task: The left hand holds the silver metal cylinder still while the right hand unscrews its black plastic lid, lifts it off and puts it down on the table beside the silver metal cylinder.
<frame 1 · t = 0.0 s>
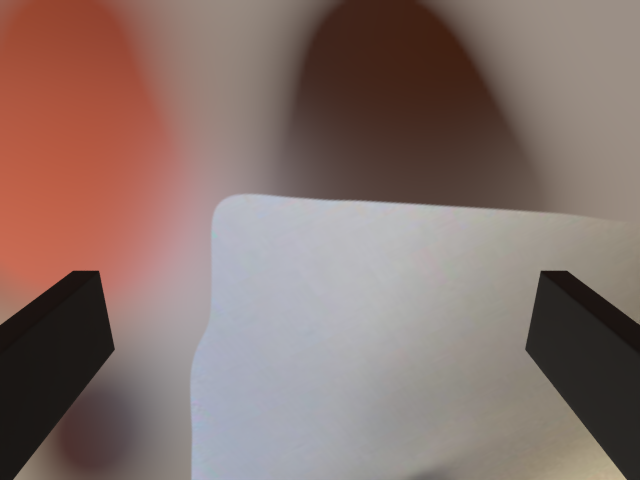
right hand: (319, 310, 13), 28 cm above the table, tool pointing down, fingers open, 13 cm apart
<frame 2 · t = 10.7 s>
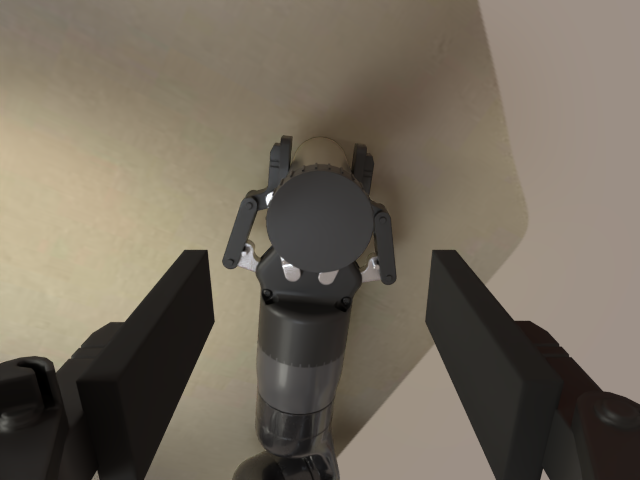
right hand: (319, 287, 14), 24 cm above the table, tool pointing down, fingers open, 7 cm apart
left hand: (323, 142, 30), fingers closed on silver metal cylinder, 4 cm apart
lid: (320, 222, 21), point 17 cm above the table, screwed on, not yet turned
silver metal cylinder: (319, 164, 36), on the table, touching left hand
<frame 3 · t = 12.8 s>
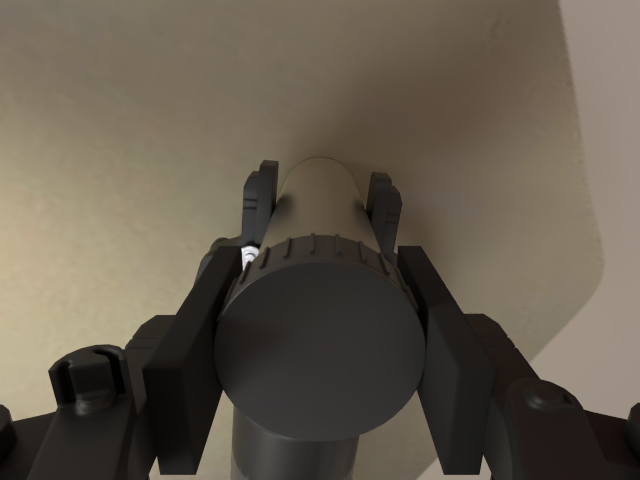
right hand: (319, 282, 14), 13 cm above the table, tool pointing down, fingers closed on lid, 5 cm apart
lid: (319, 351, 11), point 17 cm above the table, screwed on, not yet turned, touching right hand
silver metal cylinder: (319, 194, 26), on the table, touching left hand
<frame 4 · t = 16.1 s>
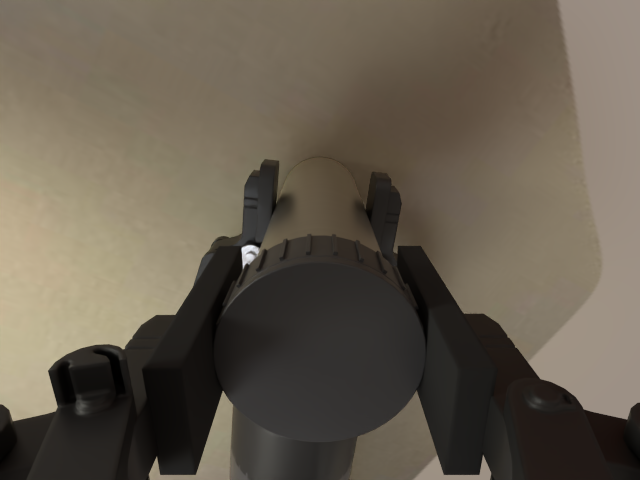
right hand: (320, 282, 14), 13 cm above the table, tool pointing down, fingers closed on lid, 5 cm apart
lid: (319, 351, 11), point 17 cm above the table, turned 99° so far, risen 0.2 cm, still on its thread, touching right hand
silver metal cylinder: (319, 194, 26), on the table, touching left hand
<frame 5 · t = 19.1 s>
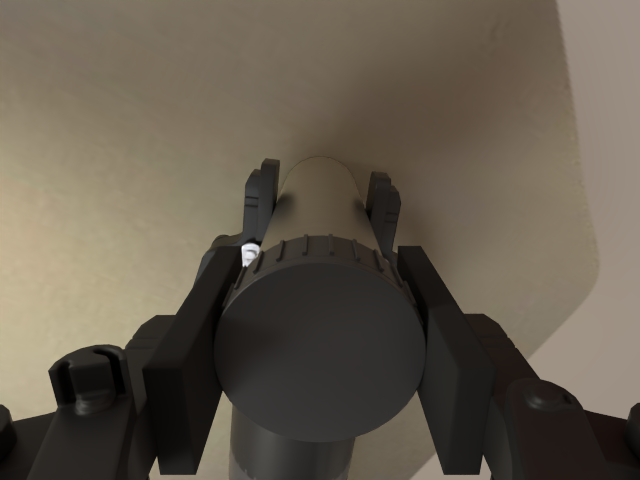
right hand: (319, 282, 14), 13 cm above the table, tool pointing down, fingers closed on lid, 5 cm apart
lid: (319, 351, 11), point 17 cm above the table, turned 198° so far, risen 0.3 cm, still on its thread, touching right hand
silver metal cylinder: (319, 193, 27), on the table, touching left hand
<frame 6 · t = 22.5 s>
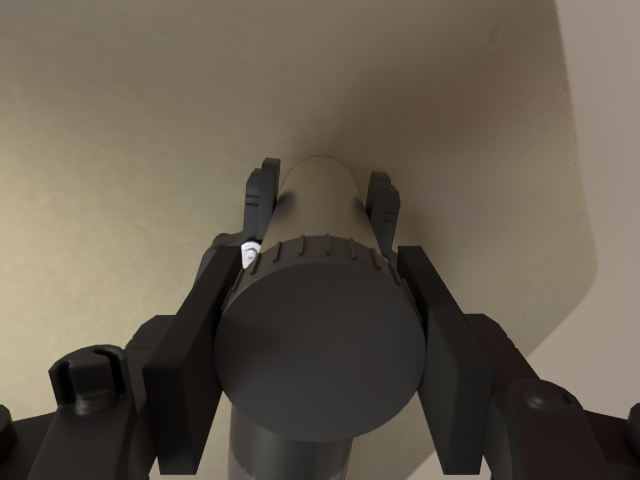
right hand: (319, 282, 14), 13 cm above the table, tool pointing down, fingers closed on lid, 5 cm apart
lid: (319, 351, 11), point 17 cm above the table, turned 298° so far, risen 0.5 cm, still on its thread, touching right hand
silver metal cylinder: (319, 192, 27), on the table, touching left hand
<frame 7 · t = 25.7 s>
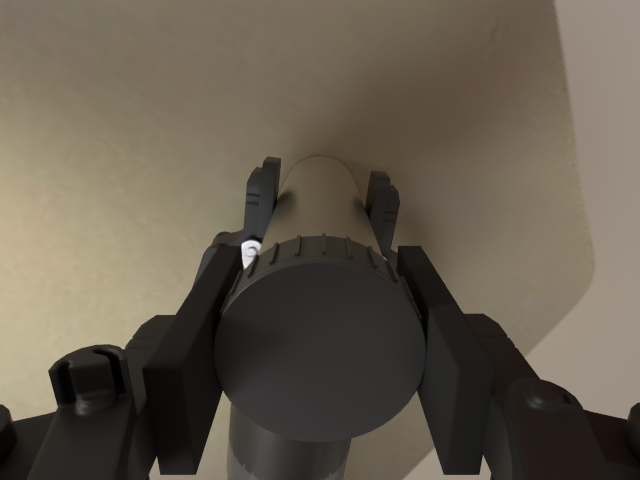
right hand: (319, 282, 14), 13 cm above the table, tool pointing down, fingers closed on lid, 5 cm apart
lid: (319, 351, 11), point 17 cm above the table, turned 397° so far, risen 0.7 cm, still on its thread, touching right hand
silver metal cylinder: (319, 192, 27), on the table, touching left hand
when the right hand's fingers open (0 cm above the table, at t = 32.7 s): lid drops 3 cm, point 1 cm above the table.
when the left hand's fingers open (6 cm above the table, at t = 33.3 s): silver metal cylinder stays where it is, on the table.
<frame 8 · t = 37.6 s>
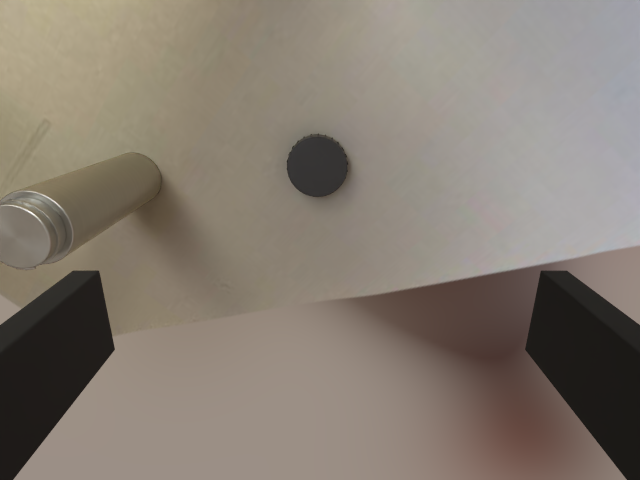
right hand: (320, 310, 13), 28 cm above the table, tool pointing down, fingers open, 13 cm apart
lid: (317, 166, 37), point 1 cm above the table, off its thread
silver metal cylinder: (136, 177, 39), on the table
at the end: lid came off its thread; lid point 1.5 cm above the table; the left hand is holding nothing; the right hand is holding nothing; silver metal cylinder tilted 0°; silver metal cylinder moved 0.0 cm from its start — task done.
